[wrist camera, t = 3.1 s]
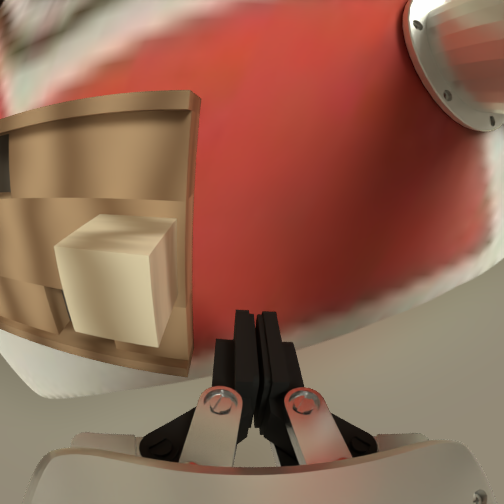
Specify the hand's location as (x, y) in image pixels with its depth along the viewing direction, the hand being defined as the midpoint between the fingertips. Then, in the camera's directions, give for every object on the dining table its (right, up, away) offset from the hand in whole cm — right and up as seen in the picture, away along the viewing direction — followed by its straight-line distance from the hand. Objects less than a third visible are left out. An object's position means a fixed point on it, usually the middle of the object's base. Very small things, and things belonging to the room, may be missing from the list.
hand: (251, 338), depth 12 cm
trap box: (-18, +5, +6) cm, 20 cm away
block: (-7, +3, +4) cm, 9 cm away
